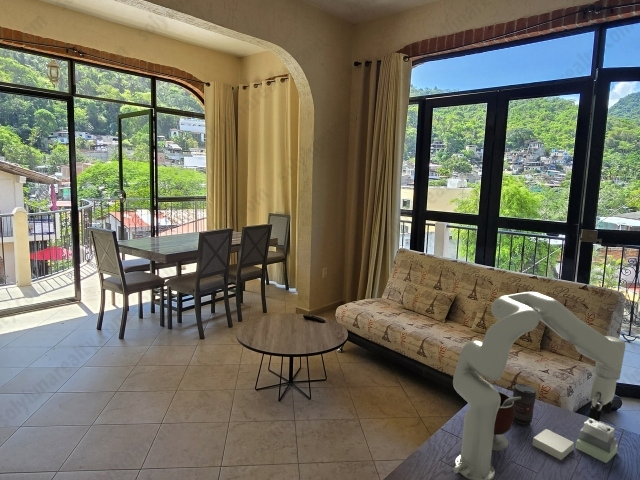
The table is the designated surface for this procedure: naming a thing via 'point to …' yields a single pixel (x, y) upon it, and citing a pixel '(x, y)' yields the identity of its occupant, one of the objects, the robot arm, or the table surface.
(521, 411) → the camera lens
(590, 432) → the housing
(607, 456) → the stand
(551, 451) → the stand
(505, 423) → the mate gourd
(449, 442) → the table surface
